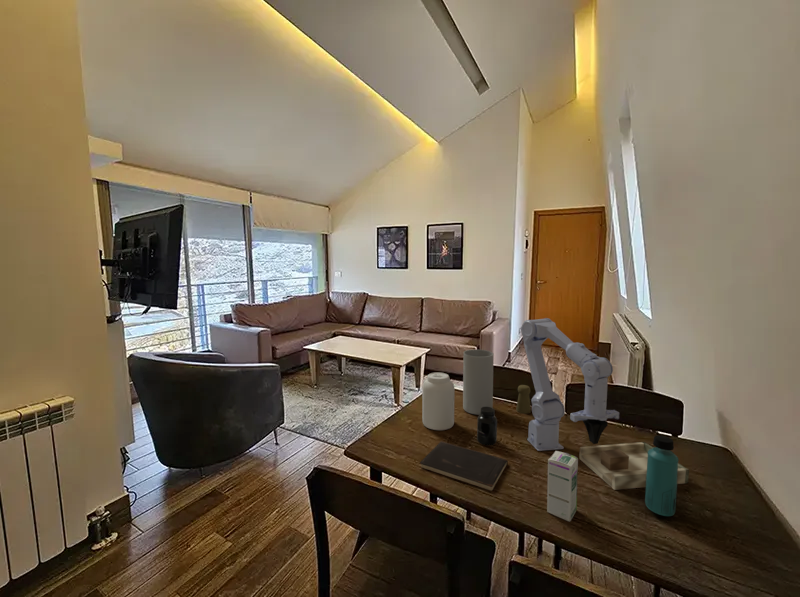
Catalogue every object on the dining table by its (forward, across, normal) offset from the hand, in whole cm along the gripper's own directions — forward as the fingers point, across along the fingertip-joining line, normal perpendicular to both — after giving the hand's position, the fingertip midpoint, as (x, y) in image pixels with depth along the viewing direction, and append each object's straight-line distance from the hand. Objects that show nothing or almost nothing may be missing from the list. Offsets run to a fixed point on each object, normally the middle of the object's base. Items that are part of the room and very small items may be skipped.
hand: (593, 442), depth 108 cm
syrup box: (+10, -19, -14) cm, 26 cm away
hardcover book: (+10, -37, +9) cm, 40 cm away
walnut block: (+8, +7, -1) cm, 10 cm away
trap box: (+10, +12, -1) cm, 15 cm away
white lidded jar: (+10, -38, +39) cm, 55 cm away
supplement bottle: (+10, -25, +23) cm, 35 cm away
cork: (+10, +1, +45) cm, 46 cm away
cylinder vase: (+10, -18, +50) cm, 54 cm away
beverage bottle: (+10, +5, -19) cm, 22 cm away
